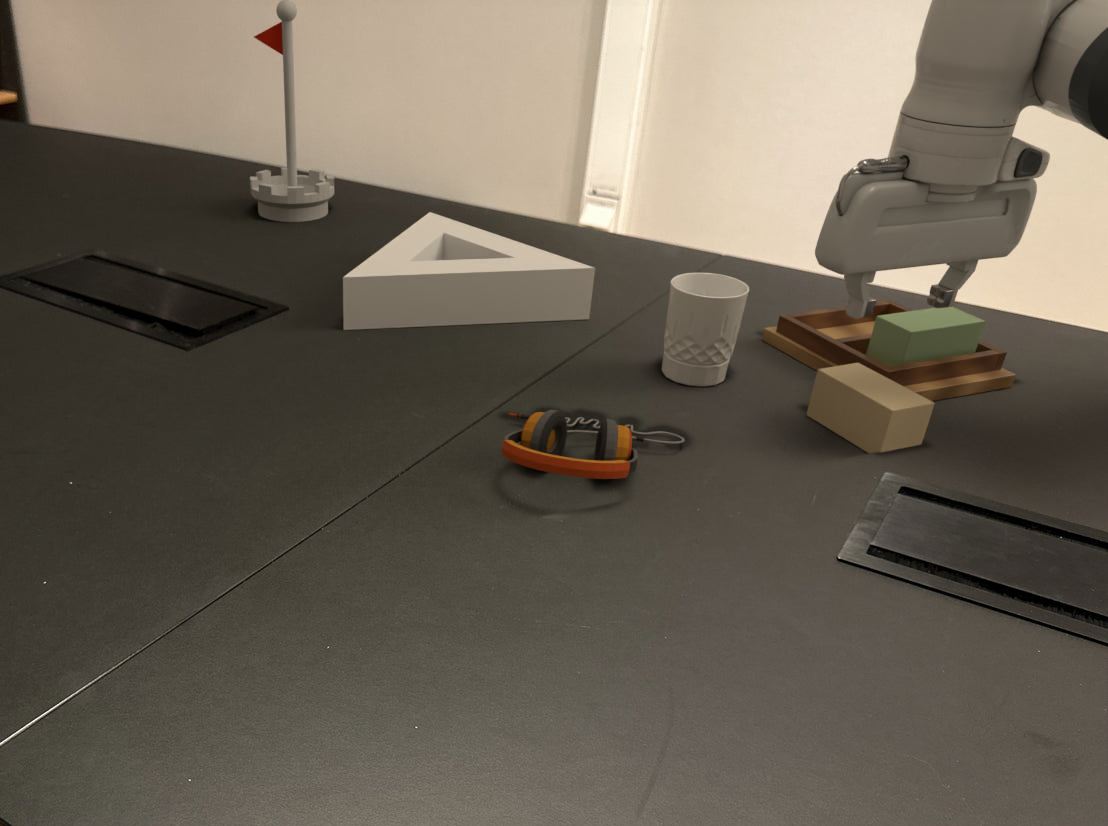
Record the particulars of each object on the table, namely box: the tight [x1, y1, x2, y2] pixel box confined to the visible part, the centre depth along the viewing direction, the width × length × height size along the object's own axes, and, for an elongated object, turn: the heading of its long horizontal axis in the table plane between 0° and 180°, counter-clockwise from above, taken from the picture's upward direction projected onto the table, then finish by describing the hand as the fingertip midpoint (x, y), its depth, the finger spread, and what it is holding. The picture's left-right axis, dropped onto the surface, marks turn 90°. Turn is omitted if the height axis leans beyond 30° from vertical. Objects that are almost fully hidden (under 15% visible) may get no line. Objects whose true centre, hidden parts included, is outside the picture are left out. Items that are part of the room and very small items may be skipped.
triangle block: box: [342, 211, 596, 331], centre depth 129 cm, size 30×26×6 cm
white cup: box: [661, 272, 750, 387], centre depth 111 cm, size 8×8×10 cm
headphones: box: [501, 409, 685, 481], centre depth 95 cm, size 17×5×20 cm
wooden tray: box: [761, 299, 1017, 402], centre depth 116 cm, size 17×20×4 cm
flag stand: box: [249, 0, 335, 223], centre depth 157 cm, size 13×13×30 cm
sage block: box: [866, 306, 986, 367], centre depth 112 cm, size 10×5×5 cm, turn 110°
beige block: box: [806, 363, 935, 454], centre depth 101 cm, size 10×5×5 cm, turn 21°
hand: (898, 311), depth 96 cm, fingers open, 8 cm apart
